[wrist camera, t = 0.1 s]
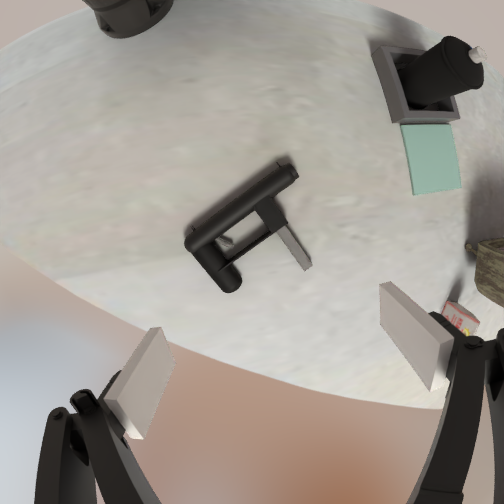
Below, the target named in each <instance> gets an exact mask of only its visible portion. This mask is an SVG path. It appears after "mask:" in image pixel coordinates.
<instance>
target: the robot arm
mask: <svg viewBox="0 0 504 504" xmlns="http://www.w3.org/2000/svg"><path fill="white" fill-rule="evenodd" d="M83 1H84V2H85V3H86V4H87V5H88V6H90V7H91V8H92V9H93V10H94V13H95V16H96V19H97V22H98V25H99V27H100V29H101V30H102V31H103V32H104V33H105V34H106V35H108V36H109V37H112V38H127V37H131V36H135V35H137V34H140V33H142V32H144V31H146V30H148V29H149V28H151V27H152V26H154V25H155V24H156V23H158V22H159V21H160V20H161V19H162V18H163V17H164V16H165V15H166V14H167V13H168V11H169V10H170V8H171V6H172V4H173V0H83ZM379 291H380V325H381V326H382V327H383V329H384V330H385V331H386V333H387V334H388V335H389V337H390V338H391V339H392V340H393V342H394V343H395V344H396V346H397V347H398V348H399V350H400V351H401V353H402V354H403V355H404V357H405V358H406V359H407V361H408V362H409V363H410V365H411V366H412V368H413V369H414V370H415V372H416V373H417V375H418V376H419V377H420V379H421V380H422V382H423V383H424V384H425V386H426V387H427V389H428V390H429V392H432V391H434V390H436V389H439V388H441V387H443V386H444V382H445V378H446V377H447V378H448V380H449V381H450V384H449V387H448V391H447V394H446V397H445V398H446V400H445V404H444V408H443V412H442V415H441V419H440V422H439V425H438V429H437V432H436V435H435V438H434V441H433V444H432V447H431V449H430V452H429V454H428V457H427V460H426V463H425V465H424V467H423V469H422V472H421V474H420V477H419V479H418V481H417V483H416V485H415V487H414V489H413V491H412V493H411V495H410V498H409V499H408V501H407V503H406V504H462V501H463V497H464V495H463V493H462V489H463V486H464V483H465V480H466V476H467V473H468V470H469V466H470V463H471V459H472V455H473V451H474V447H475V442H476V438H477V433H478V427H479V422H480V415H481V408H482V400H483V390H484V385H485V386H486V392H487V397H488V402H489V408H490V415H491V423H492V431H493V443H494V461H495V488H494V503H493V504H504V328H502V329H500V330H499V331H498V334H497V337H496V339H494V340H490V341H484V340H483V339H482V338H480V337H478V336H473V335H472V336H466V335H465V334H463V333H462V332H461V331H460V330H459V329H458V328H457V327H455V326H454V325H453V324H452V323H451V322H450V321H449V320H448V321H447V319H446V318H445V317H444V316H443V315H441V314H439V313H436V312H434V311H433V312H431V313H427V312H426V311H425V310H423V309H422V308H421V307H420V306H419V305H418V304H417V303H415V302H414V301H413V300H412V299H411V298H410V297H409V296H407V295H406V294H405V293H404V292H403V291H402V290H400V289H399V288H398V287H397V286H396V285H394V284H393V283H392V282H391V281H390V282H386V283H382V284H379ZM175 364H176V362H175V360H174V357H173V355H172V352H171V350H170V348H169V345H168V343H167V340H166V338H165V335H164V333H163V330H162V328H161V327H156V328H150V329H149V331H148V332H147V334H146V335H145V337H144V338H143V340H142V341H141V343H140V344H139V346H138V347H137V349H136V350H135V351H134V353H133V354H132V356H131V357H130V359H129V360H128V362H127V363H126V365H125V366H124V368H123V369H122V370H120V371H118V372H117V373H116V374H115V375H114V376H113V377H112V378H111V380H110V382H109V383H108V384H107V386H106V388H105V389H104V390H103V392H102V394H101V395H100V396H99V398H98V399H96V398H95V396H94V395H93V393H92V391H91V390H89V389H83V390H79V391H78V392H76V393H75V394H73V395H72V397H71V398H70V403H71V405H72V406H73V408H74V409H75V410H76V412H77V413H74V414H70V413H69V412H68V411H67V409H66V408H64V407H58V408H55V409H54V410H52V411H51V412H50V414H49V416H48V419H47V423H46V427H45V432H44V436H43V441H42V447H41V452H40V458H39V464H38V471H37V479H36V489H35V501H34V504H97V498H96V485H95V478H96V481H97V483H98V486H99V489H100V492H101V494H102V497H103V499H104V502H105V504H161V502H160V500H159V499H158V497H157V496H156V494H155V493H154V491H153V489H152V488H151V486H150V484H149V483H148V481H147V479H146V477H145V476H144V474H143V472H142V470H141V469H140V467H139V465H138V463H137V461H136V459H135V457H134V455H133V453H132V451H131V449H130V447H129V445H128V443H127V441H126V439H125V438H124V437H123V435H124V433H125V431H126V432H127V433H128V435H129V436H130V437H131V438H135V439H144V438H145V436H146V433H147V431H148V428H149V426H150V424H151V421H152V419H153V416H154V414H155V411H156V409H157V406H158V404H159V402H160V399H161V397H162V394H163V392H164V390H165V387H166V385H167V383H168V380H169V377H170V375H171V373H172V371H173V368H174V366H175Z"/></svg>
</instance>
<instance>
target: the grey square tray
mask: <svg viewBox="0 0 504 504" xmlns="http://www.w3.org/2000/svg"><path fill="white" fill-rule="evenodd" d="M425 52H426V51H424V50H417V49H410V48H401V47H390V46H380V47H379V48H378V49H377V50H376V51H375V52H374V54H373V55H372V56H371V57H372V59H373V62H374V65H375V68H376V70H377V73H378V76H379V79H380V82H381V85H382V88H383V92H384V95H385V98H386V102H387V105H388V109H389V112H390V116H391V120H392V123H408V122H449V121H453V120H458V119H460V115H459V111H458V108H457V104H456V101H455V97H454V96H451V97H448V98H445V99H443V100H440V101H438V102H437V105H438V109H439V111H409V108H408V105H407V101H406V98H405V95H404V92H403V88H402V85H401V82H400V79H399V76H398V73H397V71H396V68H395V65H394V63H407V64H409V63H411V62H412V61H414V60H415V59H416V58H418V57H419V56H421V55H422V54H424V53H425Z"/></svg>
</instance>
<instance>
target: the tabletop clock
mask: <svg viewBox="0 0 504 504" xmlns="http://www.w3.org/2000/svg"><path fill="white" fill-rule="evenodd" d="M465 249H466V251H468V252H470V251H472V252H473V253H474V254H475V255H476V256H477V262H476V271H475V279H474V281H475V284H476V286H477V289H478V291H479V292H480V293H481V294H483V295H484V296H486V297H487V298H489V299H490V300H491V301H493V302H495V303H497V304H498V305H500V306H502V307H503V308H504V238H497V239H490V240H485V241H481V242H479V243H478V251H476V250H474V249H472V245H471V244H467V245H466V246H465Z"/></svg>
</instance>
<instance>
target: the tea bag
mask: <svg viewBox="0 0 504 504" xmlns="http://www.w3.org/2000/svg"><path fill="white" fill-rule="evenodd" d="M441 315H443V316H444V317H445V318H446V319H447V321H448V320H449V321H450V322H451V323H452V324H453V325H454V326H455V327H457V328H458V329H459V330H460V331H461V332H462V333H463V334H465V335H466V336H472V335H473V336H474V335H475V333H476V331H477V328H478V326H479V324H480V321H479V320H478V319H477V318H476V317H475V316H474V315H473V314H472V313H471V312H470V311H468V310H467V309H465V308H464V307H463V306H461V305H460V304H458V303H456V302H451V301H446V304H445V306H444V309H443V311H442V313H441Z"/></svg>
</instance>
